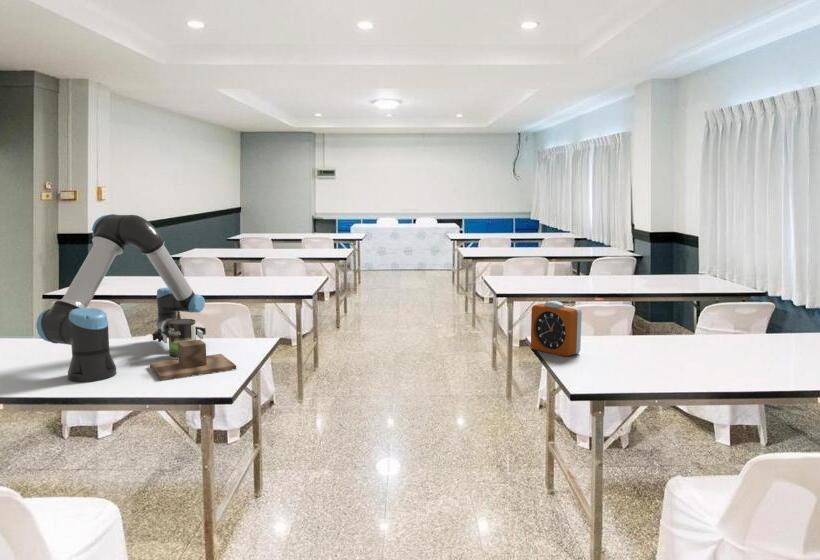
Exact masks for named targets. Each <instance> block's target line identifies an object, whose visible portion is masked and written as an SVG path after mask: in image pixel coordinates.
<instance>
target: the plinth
mask: <svg viewBox="0 0 820 560" xmlns="http://www.w3.org/2000/svg"><path fill="white" fill-rule="evenodd" d="M206 347H207V344H206V343H205V341H203V340H202V339H196V340H192V341H184V342H178V356H179V359H178V360H177V359H171V360H164V361H159V362H158V361H157V362H150V363H149V368H150V369H151V371H152V372H153V373H154V374H155V376H156V377H157V378H158V379H159V381H162V380H163V381H168V380H174V379H175V378H176V379H181V378H182V377H183V378H188V377H187V376H189V377H193V376H192V375H196V376H200V375H199V374H203V375H206V374H205V373H209V374H213V373H212V372H216V373H220V372H219V371H223V372H227V371H226V370H229V371H233V370H232V369H236V370H237V365H236V364H235V363H233V362H232V361H231V360H230V359H229V358H227V357H226V356H225V355H223V354H222V353H217V354H211V355H207V348H206Z"/></svg>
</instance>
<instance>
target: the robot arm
mask: <svg viewBox="0 0 820 560" xmlns="http://www.w3.org/2000/svg"><path fill="white" fill-rule="evenodd" d="M91 231H92V232H91V233H92V239H91V241H92V243H93V244H92V245H93V246H92V247H91V249H90V251H89V252H88V254H87V256H86V258H85V260H84V261H83V263H82V265H81V266H80V267H79V270H78V271H77V272H76V275H75V276H74V277H73V279H72V282H71V283H70V284H69V287H68V288H67V290H66V292H65V293H64V295H63V297H62V298H61V299H60V298H59V299H57V300H56V301H55V302H54V304H53V305H52V306H51V308H48V309H46V310H44V311H42V312H40V313H39V315H38V317H37V318H36V319H37V320H36V325H35V326H36V329H37V334H38V335H39V337H40V338H41V339H42V340H44V341H46V342H47V343H52V344H55V345H56V344H63V345H68V346H69V345H71V355H72V356H71V360H70V362H69V367H68V370H67V379H68V380H69V381H71V382H78V383H79V382H80V383H84V382H86V383H87V382H94V381H95V382H96V381H102V380H106V379H109V378H111V377H114V376H115V375H117V365H116V364H115V361H114V359H113V357H112V355H111V351H110V340H109V339H110V338H109V337H110V336H109V321H108V317H107V313H106V312H105V310H102V309H99V308H96V307H88V306H89V305H90V304H91V301H92V300H93V298H94V297H95V295H96V292H97V291H98V289H99V287H100V285H101V283H102V281H103V280H104V278H105V276H106V274H107V273H108V271H109V269H110V267H111V265H112V264H113V262H114V260H115V258H116V257H117V256H119V255H122V254H123V253H124V251H125V249H126V247H127V246H133V247H136V248H137V249H138V250H139V252H140V253H141V254H142V255H146V257H147V258H148V260H149V262H150V263H151V264H152V266H153V267H154V269H155V271H156V272H157V274H158V275H159V277H160V278H161V279H162V281H163V283H164V284H165V285H166V287H160V288H158V289H157V291H156V305H157V306H156V307H157V319H156V326H157V328H158V329H157V330H156V331H155V332H153V333H152V340H153V341H156V340H157V341H158V343H160V342H161V343H162V342H163V343H164V344H168V338H169V334H168V321H171V320H176V319H178V317H177V316H178V315H177V313H178V312H184V313H185V312H186V313H190V314H191V313H200V312H202V311H203V310H204V308H205V305H206V300H205V297H203V296H202V295H200V294H195V292H194V290H193V288H192V287H191V286H190V284H189V282H188V281H187V279H186V278H185V276H184V275H183V273H182V271H181V270H180V268H179V266H178V265H177V263H176V262H175V260H174V258H173V257H172V256H171V254H170V252H169V250H167V247H166V246H165V240H164V237H162V235H161V233H160V232H159V231H158V229H157V228H155V226H154V225H152V223H150V222H149V221H148V220H147V219H145V218H144V217H143V216H139V215H137V214H114V213H112V214H105V215H101V216H100V217H98V218H97V219H96V220H95V221H94V223H93V225H92V228H91ZM195 328H196V337H198V338H199V339H200V340H203V339H204V335H206V334H207V332H206V328H205V327H201V326H195Z"/></svg>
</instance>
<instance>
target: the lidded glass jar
mask: <svg viewBox="0 0 820 560" xmlns="http://www.w3.org/2000/svg"><path fill="white" fill-rule="evenodd" d="M195 327H196V319H193V318H177V319H176V320H171V321H168V334H169V337H168V348H169V349H168V351H169V356H168V357H169V359H171V360H177V359H179V356H178V342H184V341H192V340H197V335H196V328H195Z"/></svg>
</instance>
